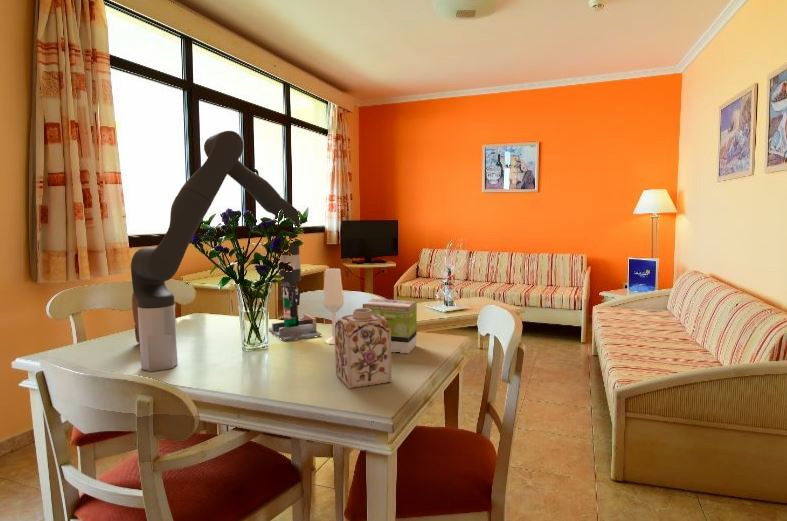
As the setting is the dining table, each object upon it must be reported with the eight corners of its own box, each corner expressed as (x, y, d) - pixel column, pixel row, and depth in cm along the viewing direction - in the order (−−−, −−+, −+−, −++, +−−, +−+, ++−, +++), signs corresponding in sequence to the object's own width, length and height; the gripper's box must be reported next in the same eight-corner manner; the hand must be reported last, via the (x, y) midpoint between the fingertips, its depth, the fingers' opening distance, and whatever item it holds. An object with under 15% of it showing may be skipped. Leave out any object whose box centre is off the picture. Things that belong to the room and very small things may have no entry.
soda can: (281, 328, 174) (280, 294, 173) (291, 325, 178) (290, 292, 177) (291, 330, 171) (290, 295, 170) (301, 327, 175) (300, 293, 174)
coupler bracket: (321, 336, 171) (320, 320, 170) (284, 341, 164) (283, 325, 164) (303, 326, 186) (302, 311, 186) (268, 330, 180) (268, 315, 179)
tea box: (361, 350, 153) (361, 303, 152) (372, 342, 163) (372, 297, 161) (409, 354, 149) (408, 305, 147) (417, 345, 158) (417, 299, 157)
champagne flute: (347, 343, 162) (346, 269, 159) (327, 345, 159) (325, 271, 157) (340, 338, 168) (339, 267, 165) (321, 340, 165) (319, 268, 163)
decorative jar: (376, 369, 135) (376, 304, 133) (393, 382, 125) (392, 312, 123) (334, 375, 131) (332, 307, 129) (347, 389, 120) (345, 316, 118)
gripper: (307, 268, 168) (308, 318, 170) (293, 264, 181) (294, 311, 182) (285, 270, 164) (287, 320, 166) (272, 266, 177) (274, 313, 179)
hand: (291, 315), depth 174 cm, fingers closed on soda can, 5 cm apart
